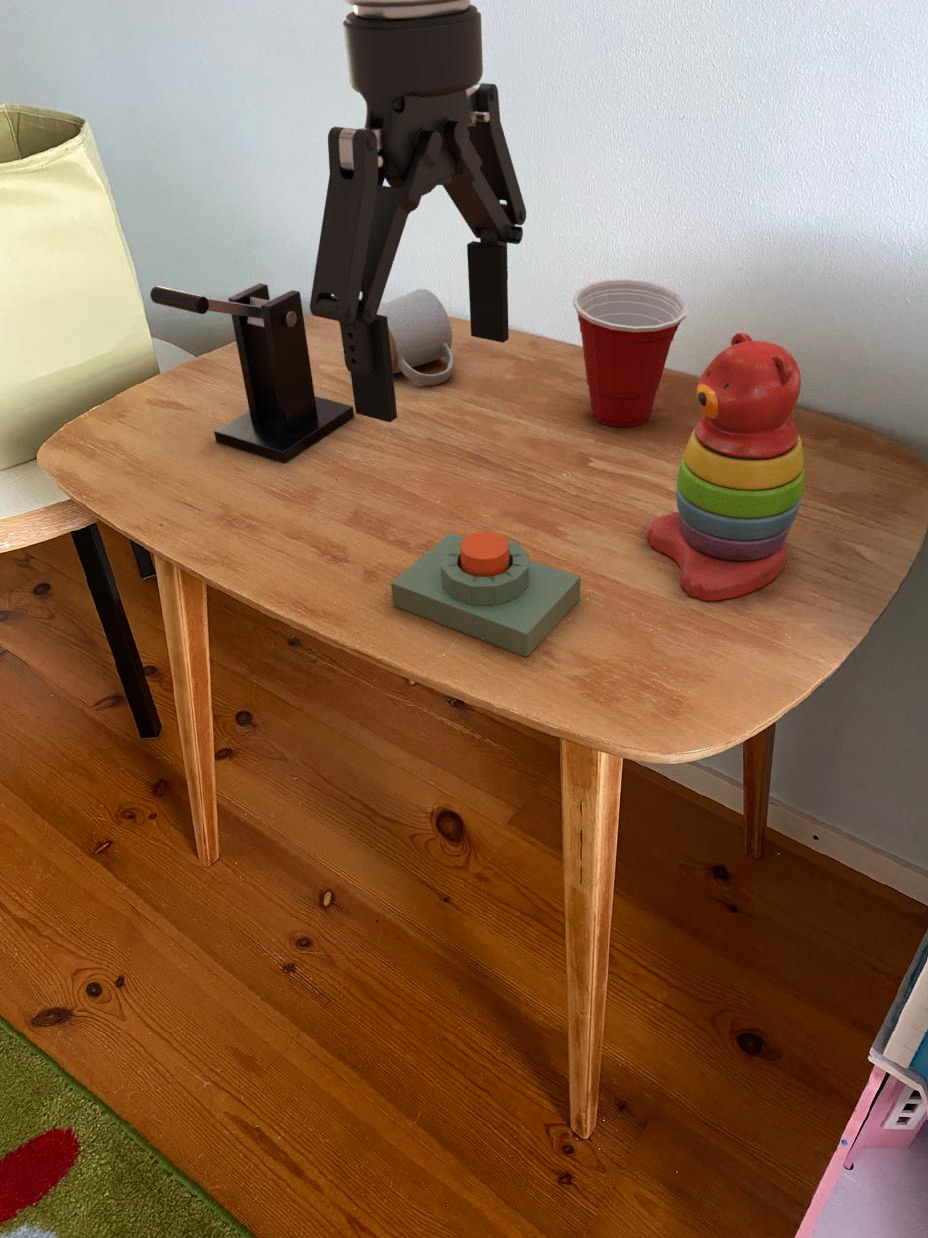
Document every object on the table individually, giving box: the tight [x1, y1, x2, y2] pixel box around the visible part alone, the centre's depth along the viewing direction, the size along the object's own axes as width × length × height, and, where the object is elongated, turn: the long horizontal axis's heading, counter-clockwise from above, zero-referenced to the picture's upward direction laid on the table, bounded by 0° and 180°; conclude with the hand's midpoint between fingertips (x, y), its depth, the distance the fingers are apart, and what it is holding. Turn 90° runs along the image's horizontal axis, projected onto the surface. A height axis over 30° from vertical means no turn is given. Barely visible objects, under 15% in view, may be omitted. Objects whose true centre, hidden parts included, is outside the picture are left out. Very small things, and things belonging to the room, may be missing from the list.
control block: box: [390, 532, 582, 658], centre depth 75 cm, size 12×8×4 cm, turn 56°
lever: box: [150, 285, 272, 327], centre depth 88 cm, size 13×6×2 cm, turn 147°
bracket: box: [213, 282, 355, 464], centre depth 95 cm, size 11×9×14 cm
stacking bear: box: [646, 332, 805, 601], centre depth 74 cm, size 11×10×18 cm
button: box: [460, 531, 509, 577], centre depth 73 cm, size 4×4×2 cm
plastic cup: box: [572, 278, 690, 428], centre depth 96 cm, size 11×11×12 cm
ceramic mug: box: [377, 288, 454, 386], centre depth 107 cm, size 11×8×8 cm
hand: (436, 374), depth 66 cm, fingers open, 13 cm apart
